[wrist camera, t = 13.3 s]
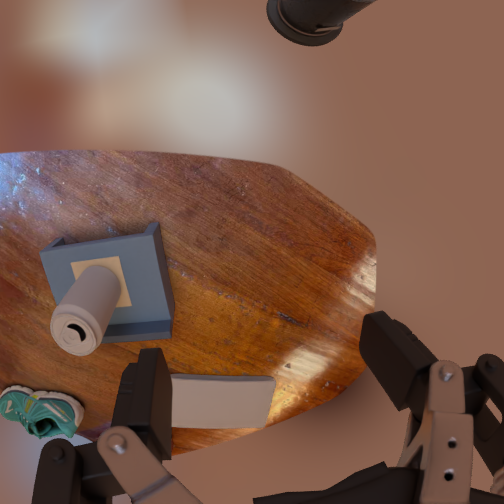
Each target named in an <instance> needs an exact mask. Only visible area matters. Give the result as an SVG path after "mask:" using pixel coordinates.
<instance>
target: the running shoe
mask: <svg viewBox="0 0 504 504" xmlns="http://www.w3.org/2000/svg"><path fill="white" fill-rule="evenodd" d="M84 411H85V410H84V408H83V406H81V405H80V402H79V401H77V400H76V399H74V398H73V397H72V396H68V395H67V394H65V393H62V392H59V393H58V392H56V391H55V392H53V391H51V392H49V393H48V392H47V391H36V392H34V391H33V390H32V389H30V388H27V387H23V388H22V386H20V385H17V386H15V385H14V386H11V388H10V387H8V388H7V389H6V390H4V391H3V392H2V394H1V395H0V413H1V414H2V416H3V417H4V418H6V419H8V420H11V421H17V422H21V423H22V425H23V426H24V427H25V429H26V430H27V432H28V433H29V434H31V435H33V434H34V435H35V436H37V437H38V438H39V439H41V437H52V436H55V435H58V434H65V435H66V436H67V437H68V438H72V437H73V435H74V433H75V431H76V430H77V428H78V426H79V425H80V423H81V421H82V419H83V416H84V414H83V413H84Z"/></svg>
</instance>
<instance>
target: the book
mask: <svg viewBox="0 0 504 504" xmlns="http://www.w3.org/2000/svg"><path fill="white" fill-rule="evenodd" d="M170 376H171V379H172V386H173V397H172V427H184V428H213V429H233V428H262V427H265V424H266V421H267V417H268V414H269V410H270V406H271V402H272V397H273V393H274V390H275V387H276V380H275V379H274V378H273V377H269V376H212V375H192V374H171V375H170Z"/></svg>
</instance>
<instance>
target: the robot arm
mask: <svg viewBox="0 0 504 504" xmlns="http://www.w3.org/2000/svg"><path fill="white" fill-rule="evenodd" d="M375 1H376V0H278V2H277V12H278V15H279V17H280V19H281V20H282V22H283V23H284V24H285V25H286V26H287V27H288V28H290V29H291V30H293V31H294V32H296V33H298V34H301V35H304V36H308V37H320V36H324V35H326V34H328V33H329V32H331V31H332V30H335V29H338V28H340V27H337V26H338V25H340V24H341V23H343V22H344V21H345V20H347V19H348V18H350V17H351V16H353V15H354V14H356V13H357V12H359V11H361V10H362V9H364V8H365V7H367V6H368V5H370V4H372V3H373V2H375ZM359 350H360V354H361V356H362V358H363V359H364V361H365V362H366V364H367V365H368V367H369V368H370V370H371V371H372V373H373V374H374V375H375V377H376V378H377V380H378V381H379V383H380V384H381V386H382V387H383V389H384V390H385V392H386V393H387V394H388V396H389V397H390V399H391V401H392V402H393V404H394V405H395V407H396V408H397V410H398V411H401V410H403V409H406V408H408V407H409V408H410V410H411V412H410V414H409V419H408V425H407V431H406V436H405V441H404V446H403V451H402V454H401V457H400V459H399V461H398V464H397V466H396V467H389V468H387V466H386V464H385V462H384V461H383V462H381V463H379V464H376V465H374V466H371V467H369V468H366V469H363V470H361V471H358V472H355V473H354V474H352V475H350V476H349V477H347V478H346V479H344V480H342V481H341V482H339V483H337V484H335V485H334V486H332V487H330V488H328V489H326V490H323V491H305V492H285V493H280V494H275V495H270V496H264V497H258V498H253V503H254V504H504V362H503V361H502V360H501V359H500V358H499V357H497V356H495V355H493V354H483V355H481V356H480V357H479V358H478V360H477V363H476V365H475V366H469V367H463V368H460V367H459V366H458V365H457V364H456V363H454V362H452V361H447V360H440V361H439V360H438V359H437V358H436V357H435V356H434V355H433V354H432V353H431V352H430V350H429V349H428V348H427V347H426V346H425V345H424V344H423V343H422V342H421V341H420V340H418V338H417V337H416V336H415V335H414V334H412V331H410V329H409V328H408V327H407V326H406V325H404V324H403V323H401V322H399V321H397V320H395V319H394V320H392V319H391V318H390V317H389V316H388V315H387V314H386V313H385V312H384V311H378V312H374V313H370V314H366V315H365V316H364V319H363V324H362V330H361V336H360V342H359ZM172 397H173V386H172V379H171V376H170V373H169V370H168V367H167V364H166V361H165V358H164V355H163V352H162V349H161V348H147V349H141V350H140V354H139V359H138V363H129V365H128V366H127V367H126V369H125V370H124V371H123V373H122V377H121V381H120V385H119V390H118V394H117V399H116V404H115V408H114V413H113V418H112V423H111V427H110V428H109V429H107V430H105V431H104V432H103V433H102V434H101V435H100V437H99V438H98V441H96V442H93V443H89V444H84V445H80V446H73V445H72V444H71V443H70V442H69V441H68V440H65V439H61V438H57V439H53V440H51V441H49V442H47V443H46V444H45V445H44V447H43V449H42V451H41V455H40V459H39V464H38V468H37V474H36V479H35V484H34V491H33V497H32V504H112V496H116V495H120V494H125V493H127V494H128V495H129V497H130V498H131V502H132V504H203V503H202V502H201V501H200V500H198V499H197V498H196V497H195V496H194V495H193V494H192V493H191V492H190V491H189V490H188V489H187V488H186V487H185V486H184V485H183V484H182V483H181V482H180V481H179V480H178V479H177V478H176V477H174V476H173V475H171V474H170V473H169V472H168V471H167V470H166V469H165V468H164V466H163V465H162V460H171V433H172ZM489 398H490V399H491V400H492V401H493V403H494V404H495V405H496V407H497V408H498V409H499V410H500V412H501V413H502V422H501V424H500V423H499V421H498V420H497V419H496V417H495V416H494V415H493V413H492V412H491V411H490V409H489V408H488V407H487V405H486V402H487V401H488V399H489ZM473 445H474V446H475V448H476V449H477V451H478V452H479V454H480V456H481V457H482V459H483V461H484V462H485V464H486V465H487V467H488V469H489V470H490V472H491V474H492V475H493V477H494V479H493V484H492V486H491V488H490V492H491V493H489V492H485V491H482V490H477V489H474V488H471V487H470V486H471V476H472V461H473Z"/></svg>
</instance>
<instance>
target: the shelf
mask: <svg viewBox="0 0 504 504" xmlns="http://www.w3.org/2000/svg"><path fill="white" fill-rule="evenodd" d="M39 253H40V257H41V260H42V263H43V267H44V270H45V273H46V276H47V279H48V282H49V285H50V288H51V290H52V293H53V296H54V299H55V301H56V304H57V306H58V304H59V303H60V302H61V300H62V299H63V297H64V296H65V295H66V293H67V292H68V291H69V289H70V288H71V287H72V285H73V284H74V283H75V281H76V280H77V279H78V277H79V276H80V275H81V273H82V272H83V271H84V270H85V269H86V268H88V267H91V266H101V267H104V268H107V269H108V270H110V271H111V272H112V273H113V274H114V275H115V276H116V277H117V279H118V281H119V283H120V287H121V295H120V298H119V300H118V303H117V305H116V307H115V309H114V312H113V314H112V316H111V319H110V321H109V324H108V326H107V328H106V331H105V333H104V336H103V338H102V341H101V343H117V342H132V341H146V340H157V339H168V338H171V337H172V328H173V318H174V309H175V302H174V298H173V293H172V289H171V284H170V279H169V274H168V269H167V264H166V259H165V254H164V248H163V243H162V237H161V231H160V226H159V222H156V223H150V224H149V225H148V227H147V228H146V230H145V232H144V233H139V234H132V235H125V236H119V237H112V238H106V239H99V240H93V241H87V242H81V243H75V244H69V245H65V244H64V240H63V238H58V239H55V240H54V241H53V242H51V243H50V244H49V245H48V246H46V247H45V248H44V249H43V250H42V251H40V252H39Z"/></svg>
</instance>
